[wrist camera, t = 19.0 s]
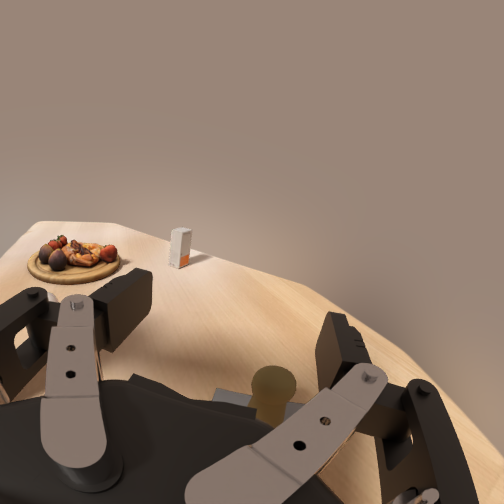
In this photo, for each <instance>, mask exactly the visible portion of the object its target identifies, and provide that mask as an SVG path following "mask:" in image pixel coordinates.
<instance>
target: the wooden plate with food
mask: <svg viewBox="0 0 504 504" xmlns="http://www.w3.org/2000/svg"><path fill="white" fill-rule="evenodd" d="M57 237H58V238H57V240H54V239H53V240H54V241H53V240H50V242H49V243H48V245H47V244H45V245H43V246H42V247H41V249H40V251H38V252H36V253H35V254H33V255H32V256H31V257H30V259H29V260H28V264H27V268H28V271H29V272H30V274H31V275H32V276H33V277H35V278H37V279H38V280H41V281H44V282H47V283H52V284H60V285H74V284H82V283H88V282H92V281H96V280H99V279H102V278H104V277H107V276H108V275H110V274H112V273H113V272H114V271H116V270H117V268H118V267H119V264H120V258H119V256H118V254H117V249H116V248H115V246H114V245H108V246H107V245H105V247H104V246H101V245H98V244H96V243H94V244H92V243H91V244H89V243H81V242H77V241H76V240H72V241H71V243H67V238H66V237H65V236H63V235H61V236H57Z"/></svg>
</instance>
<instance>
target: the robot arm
mask: <svg viewBox="0 0 504 504" xmlns="http://www.w3.org/2000/svg"><path fill="white" fill-rule="evenodd" d="M152 280H153V276H152V272H150V271H147V270H143V269H139V268H135V269H133V270H132V271H130V272H129V273H128V274H126V275H122V276H119V277H116V278H114V279H112V280H111V281H110V282H109V283H107V284H105V285H104V286H103V287H101V288H99V289H98V290H96V291H95V292H93V293H92V294H91V295H89V296H86V295H80V294H76V295H70V296H67V297H65V298H64V299H63V300H62V301H61V303H58V302H52V301H49V300H48V293H47V291H46V290H45V289H43V288H40V287H31V288H27V289H25V290H23V291H21V292H20V293H18V294H17V295H15V296H14V297H12V298H10V299H9V300H7V301H6V302H4V303H3V304H1V305H0V504H344V503H343V502H342V501H341V500H340V499H339V498H338V497H337V496H336V495H335V494H334V492H333V491H332V490H331V489H330V488H329V487H328V486H327V485H326V484H325V483H324V482H323V481H322V479H321V478H320V477H319V476H318V475H319V474H320V473H321V472H322V471H323V470H324V469H325V468H326V466H327V465H328V464H329V463H330V462H331V461H332V460H333V458H334V457H335V456H336V455H337V454H338V453H339V451H340V450H341V449H342V448H343V447H344V446H345V444H346V443H347V442H348V441H349V439H350V438H351V437H352V436H353V434H354V433H355V432H360V433H363V434H367V435H370V436H374V439H375V445H376V452H377V460H378V468H379V476H380V486H381V497H382V504H479V501H478V497H477V493H476V490H475V486H474V483H473V480H472V476H471V473H470V470H469V467H468V464H467V461H466V458H465V455H464V453H463V450H462V447H461V445H460V442H459V439H458V437H457V434H456V432H455V429H454V427H453V424H452V422H451V419H450V417H449V415H448V412H447V410H446V408H445V406H444V403H443V401H442V399H441V397H440V395H439V392H438V390H437V389H436V388H435V386H434V385H432V384H431V383H430V382H428V381H425V380H422V379H413V380H411V381H410V382H409V383H408V385H407V386H406V388H404V387H401V386H397V385H394V384H391V383H388V377H387V375H386V373H385V372H384V371H383V370H382V369H381V368H379V367H377V366H375V365H373V364H372V362H371V360H370V357H369V354H368V352H367V349H366V348H365V347H366V346H365V344H364V342H363V339H362V336H361V334H360V333H359V332H358V330H357V329H356V328H355V327H353V326H349V324H348V321H347V318H346V315H345V314H341V313H335V312H328V313H327V315H326V317H325V320H324V323H323V326H322V329H321V332H320V335H319V338H318V340H317V344H316V349H315V357H316V366H317V376H318V386H319V393H318V394H317V395H316V396H315V397H314V398H312V399H311V400H310V401H309V402H308V403H306V404H305V405H304V406H303V407H302V408H301V409H299V410H298V411H297V412H296V413H294V414H293V415H292V416H291V417H289V418H288V419H287V420H286V421H284V422H283V423H282V424H280V425H279V426H278V427H276V428H274V427H273V426H271V425H270V424H268V423H266V422H264V421H262V420H260V419H258V418H256V413H257V409H256V408H251V407H246V406H241V405H237V404H232V403H228V402H220V401H205V400H193V399H189V398H187V397H185V396H183V395H181V394H179V393H177V392H175V391H174V390H172V389H170V388H168V387H166V386H165V385H163V384H161V383H158V382H156V381H153V380H150V379H147V378H144V377H142V376H139V375H136V374H134V373H133V375H132V376H131V377H130V379H129V380H128V381H126V380H104V379H103V372H102V365H101V357H100V351H101V349H104V350H107V351H109V352H111V353H113V352H114V351H115V349H116V348H117V347H118V346H119V345H120V344H121V343H122V342H123V341H124V340H125V339H126V337H127V336H128V335H129V334H130V333H131V332H132V331H133V330H134V329H135V328H136V327H137V326H138V324H139V323H140V322H141V321H142V320H143V319H144V318H145V317H146V316H147V315H148V313H149V312H150V309H151V305H152ZM25 326H26V328H27V332H28V335H29V338H28V339H27V340H26V341H25V342H23V343H22V344H21V345H20V346H19V347H18V348H17V349H15V346H14V338H15V335H16V334H17V333H18V332H19V331H20V330H22V329H23V328H24V327H25ZM46 363H47V369H46V384H45V395H44V396H40V397H35V398H31V399H26V400H21V401H16V402H11V401H12V400H13V399H14V397H15V396H16V395H17V394H18V393H19V392H20V391H21V390H22V389H23V387H24V386H25V385H26V384H27V383H28V382H29V381H30V380H31V379H32V378H33V377H34V376H35V375H36V374H37V372H38V371H39V370H40V369H41V368H42V367H43V366H44V365H45V364H46ZM10 402H11V403H10ZM411 434H412V437H413V444H412V440H411V437H410V435H411Z"/></svg>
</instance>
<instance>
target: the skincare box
mask: <svg viewBox="0 0 504 504" xmlns="http://www.w3.org/2000/svg"><path fill="white" fill-rule="evenodd" d="M191 237H192V230H190V229H187V228H183V227H182V228H177V229H174V230H172V233H171V244H170V255H169V266H172V267H175V268H178V269H179V268H181V267H183V266H186V265H188V264H189V255H190V245H191Z"/></svg>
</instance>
